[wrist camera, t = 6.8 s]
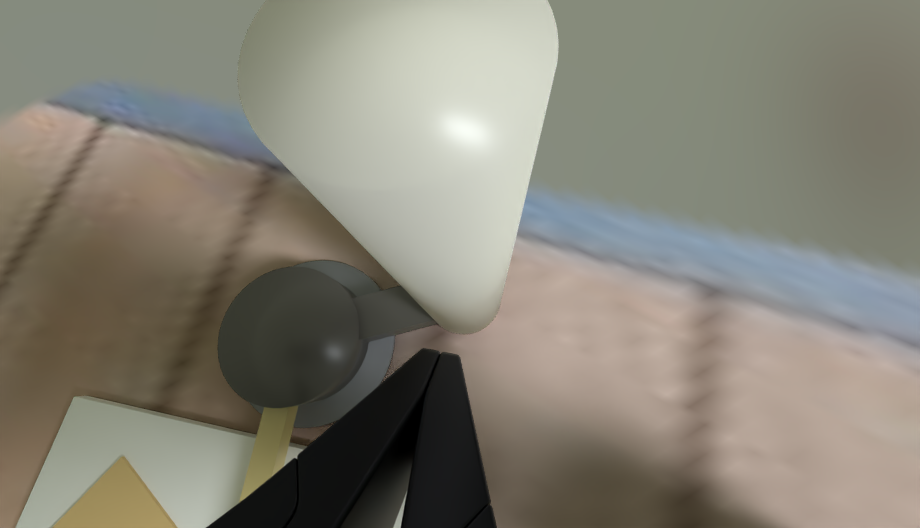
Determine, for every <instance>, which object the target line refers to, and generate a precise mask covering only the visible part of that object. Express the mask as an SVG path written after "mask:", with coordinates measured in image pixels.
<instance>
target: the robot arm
mask: <svg viewBox="0 0 920 528" xmlns="http://www.w3.org/2000/svg"><path fill="white" fill-rule="evenodd" d="M406 492H407V495H406ZM405 495H406V500H405V506H404V511H403V517H402V522H401V528H497V526H496V522H495V517H494V513H493V508H492V506H491V505H490V503H491V500H490V495H489V490H488V486H487V481H486V476H485V472H484V467H483V462H482V458H481V453H480V448H479V444H478V439H477V434H476V430H475V425H474V420H473V415H472V411H471V406H470V401H469V397H468V392H467V387H466V383H465V378H464V373H463V369H462V364H461V359H460V357H459V355H457V354H452V353H447V352H442V353H441V354H440V352H439V351H436V350H431V349H426V348H423V349H421V350H420V351H419V352H417V353H416V354H415V355H414V356H413V357H412V358H410V359H409V360H408V361H407V362H406V363H405V364H403V365H402V366H401V367H400V368H399V369H398V370H396V371H395V372H394V373H393V374H392V375H391V376H389V377H388V378H387V379H386V380H385V381H384V382H382V383H381V384H380V385H379V386H378V387H376V388H375V389H374V390H373V391H372V392H371V393H369V394H368V395H367V396H366V397H365V398H364V399H362V400H361V401H360V402H359V403H358V404H357V405H355V406H354V407H353V408H352V409H351V410H350V411H348V412H347V413H346V414H345V415H344V416H343V417H341V418H340V419H339V420H338V421H337V422H335V423H334V424H333V425H332V426H331V427H330V428H328V429H327V430H326V431H325V432H324V433H323V434H321V435H320V436H319V437H318V438H317V439H316V440H314V441H313V442H312V443H311V444H310V445H309V446H307V447H306V448H305V449H304V450H303V451H302V452H300V453H299V454H298V455H297V459H296V458H293V459H292V460H291V461H289V462H288V463H287V464H286V465H285V466H284V467H282V468H281V469H280V470H279V471H278V472H277V473H275V474H274V475H273V476H272V477H271V478H269V479H268V480H267V481H266V482H264V483H263V484H262V485H261V486H260V487H258V488H257V489H256V490H255V491H253V492H252V493H251V494H250V495H248V496H247V497H246V498H245V499H243V500H242V501H241V502H239V503H238V504H237V505H235V506H234V507H233V508H231V509H230V510H229V511H227V512H226V513H225V514H223V515H222V516H221V517H219V518H218V519H217V520H215V521H214V522H213V523H211V524H210V525H209V526H207V527H206V528H393V527H394V524H395V522H396V519H397V516H398V514H399V511H400V508H401V506H402V503H403V500H404V498H405Z"/></svg>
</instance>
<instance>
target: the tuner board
mask: <svg viewBox="0 0 920 528" xmlns="http://www.w3.org/2000/svg"><path fill="white" fill-rule="evenodd" d="M293 267H307V268H311V269H315V270H317V271H320V272H322V273H324V274H326V275H327V276H329V277H331V278H332V279H334V280H336V281H337V282H339V283H340V284H342V285H344V286H345V287H347V288H348V289H349V290H351V291H352V292H353V293H354V294H355V295H356V296H357V297H359V296H363V295H367V294H371V293H374V292H378V291H381V289H380V288H379V287H378V285H377V284H376V283H375V282H374V281H373V280H372V279H371V278H369V277H368V276H367V275H365V274H364V273H363V272H361V271H360V270H358V269H356V268H354V267H352V266H349V265H347V264H344V263H340V262H335V261H311V262H305V263H302V264H298V265H295V266H293ZM394 345H395V335H394V336H390V337H386V338H382V339H378V340H375V341H371V342H369V344H368V350H367V353H366V356H365V359H364V361H363V363H362V365H361V367H360V369H359V370H358V372H357V374H356V375H355V376H354V377H353V379H352V380H351V381H350V382H349V383H348V384H347V385H346V386H345V387H344V388H343V389H341V390H340V391H339V392H337V393H336V394H334V395H332V396H331V397H328V398H326V399H324V400H321V401H318V402H314V403H309V404H303V405H298V409H297V413H296V417H295V422H294V426H293V427H297V428H310V427H317V426H322V425H326V424H329V423H332V422H335V421H337V420H339V419H340V418H341V417H343V416H344V415H345V414H346V413H347V412H348V411H350V410H351V409H352V408H353V407H354V406H355V405H357V404H358V403H359V402H360V401H361V400H362V399H364V398H365V397H366V396H367V395H368V394H369V393H371V392H372V391H373V390H374V389H375V388H376V387H378V386H379V385H380V384H381V382H382V380H383V379H384V377H385V375H386V373H387V370H388V368H389V366H390V362H391V359H392V356H393V351H394ZM250 404H251V405H252V406H253V407H254V408H255V409H256V410H257V411H258V412H259V413H261V414H262V413H263V410H264V407H262V406H258V405H255V404H253V403H251V402H250ZM256 436H257V435H256V434H251V433H247V432H243V431H238V430H234V429H230V428H225V427H221V426H217V425H212V424H208V423H203V422H199V421H195V420H190V419H186V418H182V417H177V416H173V415H169V414H164V413H160V412H156V411H151V410H147V409H143V408H138V407H134V406H130V405H125V404H121V403H117V402H112V401H108V400H103V399H99V398H95V397H90V396H74V398H73V400H72V402H71V405H70V407H69V409H68V411H67V414H66V416H65V418H64V420H63V423H62V425H61V427H60V429H59V431H58V434H57V436H56V438H55V440H54V443H53V445H52V447H51V449H50V452H49V454H48V456H47V458H46V461H45V463H44V465H43V467H42V470H41V472H40V474H39V476H38V479H37V481H36V483H35V485H34V487H33V490H32V492H31V494H30V496H29V499H28V501H27V503H26V505H25V508H24V510H23V512H22V514H21V517H20V519H19V521H18V523H17V526H16V528H206V527H207V526H209V525H210V524H211V523H213V522H214V521H215V520H217V519H218V518H219V517H221V516H222V515H223V514H225V513H226V512H227V511H229V510H230V509H231V508H233V507H234V506H235V505H237V504H238V503H239V501H240V497H241V493H242V489H243V485H244V482H245V478H246V474H247V470H248V466H249V463H250V459H251V455H252V451H253V447H254V444H255V440H256ZM306 447H307V446H303V445H299V444H295V443H290V442H289V447H288V451H287V455H286V459H285V463H284V466H285V465H286V464H287V463H288V462H289V461H291V460H292V459H293V458H296V459H297V455H298V454H299V453H300V452H302V451H303V450H304V449H305V448H306ZM406 495H407V492H406ZM406 495H405V498H404V500H403V503H402V506H401V508H400V511H399V514H398V516H397V519H396V522H395V524H394V527H393V528H401V522H402V517H403V511H404V506H405V500H406Z"/></svg>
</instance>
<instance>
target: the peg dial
mask: <svg viewBox="0 0 920 528" xmlns="http://www.w3.org/2000/svg"><path fill="white" fill-rule="evenodd" d="M558 44H559V43H558V34H557V26H556V22H555V19H554V15H553V12H552V9H551V7H550V5H549V3H548V1H547V0H266V1H265V2H264V4H263V5H262V6H261V8H260V9H259V11H258V12H257V14H256V15H255V17H254V19H253V21H252V23H251V25H250V27H249V29H248V30H247V33H246V36H245V39H244V41H243V44H242V47H241V52H240V57H239V62H238V79H237V80H238V88H239V96H240V100H241V103H242V107H243V110H244V113H245V115H246V117H247V119H248V121H249V123H250V125H251V127H252V129H253V130H254V132H255V133H256V135H257V136H258V137H259V139H260V140H261V141H262V143H263V144H264V145H265V146H266V147H267V148H268V149H269V150H270V151H271V152H272V153H273V154H274V155H275V156H276V157H277V158H278V159H279V160H280V161H281V162H282V163H283V164H284V165H285V167H286V168H287V169H288V170H289V171H290V172H291V173H292V174H293V175H294V176H295V177H296V178H297V179H298V180H299V181H300V182H301V183H302V184H303V185H304V186H305V187H306V188H307V189H308V190H309V191H310V192H311V193H312V194H313V195H314V196H315V198H316V199H317V200H318V201H319V202H320V203H321V204H322V205H323V206H324V207H325V208H326V209H327V210H328V211H329V212H330V213H331V214H332V215H333V216H334V217H335V218H336V219H337V220H338V221H339V222H340V223H341V224H342V225H343V226H344V227H345V228H346V230H347V231H348V232H349V233H350V234H351V235H352V236H353V237H354V238H355V239H356V240H357V241H358V242H359V243H360V244H361V245H362V246H363V247H364V248H365V249H366V250H367V251H368V252H369V253H370V254H371V255H372V256H373V257H374V258H375V259H376V260H377V262H378V263H379V264H380V265H381V266H382V267H383V268H384V269H385V270H386V271H387V272H388V273H389V274H390V275H391V276H392V277H393V278H394V279H395V280H396V281H397V282H398V283H399V284H400V285H401V286H397V287H393V288H390V289H386V290H382V291H378V292H374V293H371V294H367V295H363V296H359V297H357V296H356V295H355V294H354V293H353V292H352V291H351V290H349V289H348V288H347V287H345V286H344V285H342V284H340V283H339V282H337V281H336V280H334V279H332V278H331V277H329V276H327V275H326V274H324V273H322V272H320V271H317V270H315V269H311V268H307V267H286V268H280V269H277V270H273V271H271V272H268V273H266V274H264V275H262V276H260V277H258V278H257V279H255V280H254V281H252V282H251V283H250V284H249V285H247V286H246V287H245V288H244V289H243V290H242V291H241V292H240V293H239V294H238V295H237V297H236V298H235V299H234V301H233V302H232V303H231V305H230V307H229V308H228V310H227V312H226V314H225V316H224V319H223V321H222V324H221V328H220V332H219V337H218V358H219V363H220V367H221V370H222V372H223V375H224V377H225V379H226V381H227V382H228V384H229V385H230V386H231V388H232V389H233V390H234V391H235V392H236V393H237V394H238V395H239V396H241V397H242V398H243V399H245V400H246V401H248V402H251V403H253V404H255V405H258V406H262V407H264V410H263V413H262V417H261V421H260V425H259V428H258V432H257V436H256V440H255V444H254V447H253V451H252V455H251V459H250V463H249V466H248V470H247V474H246V478H245V482H244V485H243V489H242V493H241V497H240V501H239V502H241V501H242V500H243V499H245V498H246V497H247V496H248V495H250V494H251V493H252V492H253V491H255V490H256V489H257V488H258V487H260V486H261V485H262V484H263V483H264V482H266V481H267V480H268V479H269V478H271V477H272V476H273V475H274V474H275V473H277V472H278V471H279V470H280V469H281V468H282V467H284V463H285V459H286V455H287V451H288V447H289V442H290V438H291V434H292V430H293V426H294V422H295V417H296V413H297V409H298V405H303V404H309V403H314V402H318V401H321V400H324V399H326V398H328V397H331V396H332V395H334V394H336V393H337V392H339V391H340V390H341V389H343V388H344V387H345V386H346V385H347V384H348V383H349V382H350V381H351V380H352V379H353V377H354V376H355V375H356V374H357V372H358V370H359V369H360V367H361V365H362V363H363V361H364V359H365V356H366V353H367V350H368V344H369V342H371V341H375V340H378V339H382V338H386V337H390V336H394V335H397V334H401V333H405V332H409V331H412V330H416V329H420V328H424V327H427V326H431V325H435V324H439V325H440V326H441V327H442V328H444V329H445V330H447V331H449V332H452V333H456V334H472V333H475V332H478V331H480V330H482V329H484V328H485V327H487V326H488V325H489V324H490V323H491V322H492V321H493V319H494V318H495V317H496V315H497V313H498V310H499V307H500V303H501V299H502V295H503V290H504V286H505V282H506V278H507V273H508V269H509V265H510V261H511V256H512V252H513V248H514V244H515V239H516V235H517V231H518V227H519V223H520V218H521V214H522V210H523V206H524V201H525V197H526V193H527V189H528V184H529V180H530V176H531V171H532V167H533V163H534V158H535V155H536V151H537V146H538V142H539V137H540V134H541V129H542V125H543V121H544V117H545V112H546V108H547V104H548V100H549V95H550V91H551V87H552V83H553V78H554V74H555V70H556V65H557V60H558Z"/></svg>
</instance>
